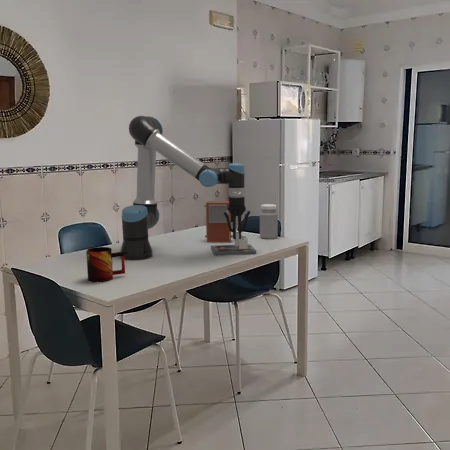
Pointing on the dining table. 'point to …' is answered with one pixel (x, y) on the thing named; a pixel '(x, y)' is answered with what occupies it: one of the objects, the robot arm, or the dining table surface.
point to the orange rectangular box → (217, 222)
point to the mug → (102, 264)
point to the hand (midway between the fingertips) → (237, 245)
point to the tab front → (243, 243)
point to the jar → (268, 221)
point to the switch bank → (231, 250)
